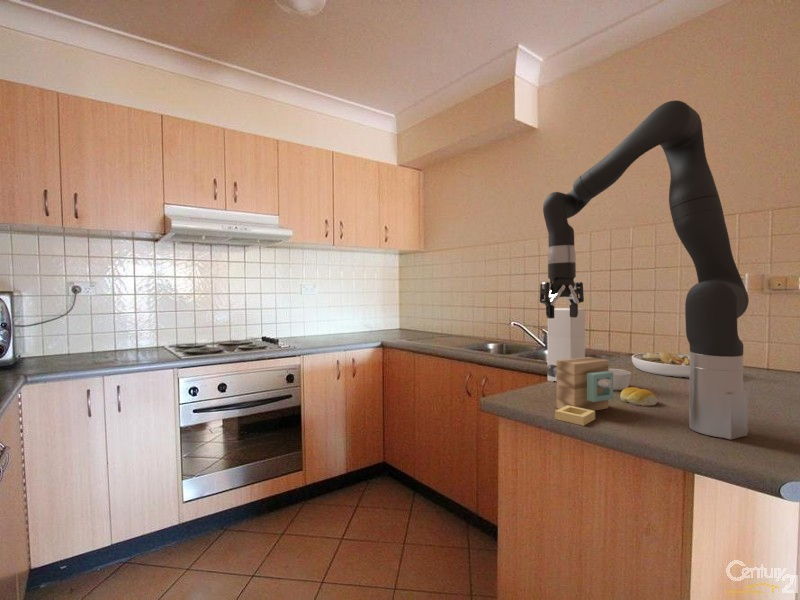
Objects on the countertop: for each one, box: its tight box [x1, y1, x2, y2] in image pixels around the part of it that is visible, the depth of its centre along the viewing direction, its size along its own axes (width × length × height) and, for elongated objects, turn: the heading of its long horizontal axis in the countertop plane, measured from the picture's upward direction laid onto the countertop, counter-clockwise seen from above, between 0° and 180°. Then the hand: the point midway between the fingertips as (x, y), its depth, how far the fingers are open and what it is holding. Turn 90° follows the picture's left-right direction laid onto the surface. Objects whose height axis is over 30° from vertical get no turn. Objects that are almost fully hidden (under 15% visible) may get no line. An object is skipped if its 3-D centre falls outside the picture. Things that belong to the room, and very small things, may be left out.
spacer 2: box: [587, 371, 614, 402], centre depth 101 cm, size 2×7×7 cm, turn 113°
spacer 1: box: [554, 405, 596, 427], centre depth 97 cm, size 7×7×2 cm
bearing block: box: [556, 356, 609, 411], centre depth 106 cm, size 6×12×13 cm, turn 113°
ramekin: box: [608, 367, 632, 391], centre depth 129 cm, size 11×11×5 cm
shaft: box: [546, 365, 612, 389], centre depth 107 cm, size 19×3×3 cm, turn 23°
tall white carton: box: [547, 307, 586, 382], centre depth 137 cm, size 9×9×25 cm
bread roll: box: [619, 386, 658, 407], centre depth 112 cm, size 8×9×4 cm
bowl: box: [631, 351, 690, 379], centre depth 152 cm, size 30×30×8 cm
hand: (562, 317), depth 117 cm, fingers open, 8 cm apart
